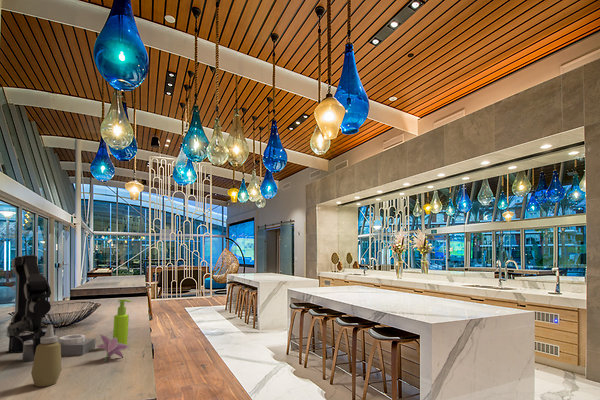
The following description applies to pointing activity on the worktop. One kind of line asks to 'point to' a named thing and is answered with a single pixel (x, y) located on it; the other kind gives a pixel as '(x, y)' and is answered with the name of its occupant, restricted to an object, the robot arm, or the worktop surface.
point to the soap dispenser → (121, 323)
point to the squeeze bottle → (47, 360)
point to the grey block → (28, 351)
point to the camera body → (76, 345)
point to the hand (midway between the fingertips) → (30, 354)
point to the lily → (112, 346)
